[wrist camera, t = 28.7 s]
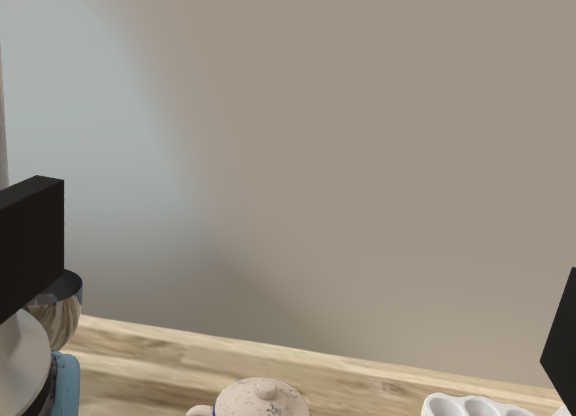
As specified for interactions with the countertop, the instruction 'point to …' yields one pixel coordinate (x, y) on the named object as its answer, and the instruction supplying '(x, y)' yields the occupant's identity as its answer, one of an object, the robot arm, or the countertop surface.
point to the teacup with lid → (255, 400)
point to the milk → (562, 411)
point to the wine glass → (58, 309)
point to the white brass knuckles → (468, 407)
